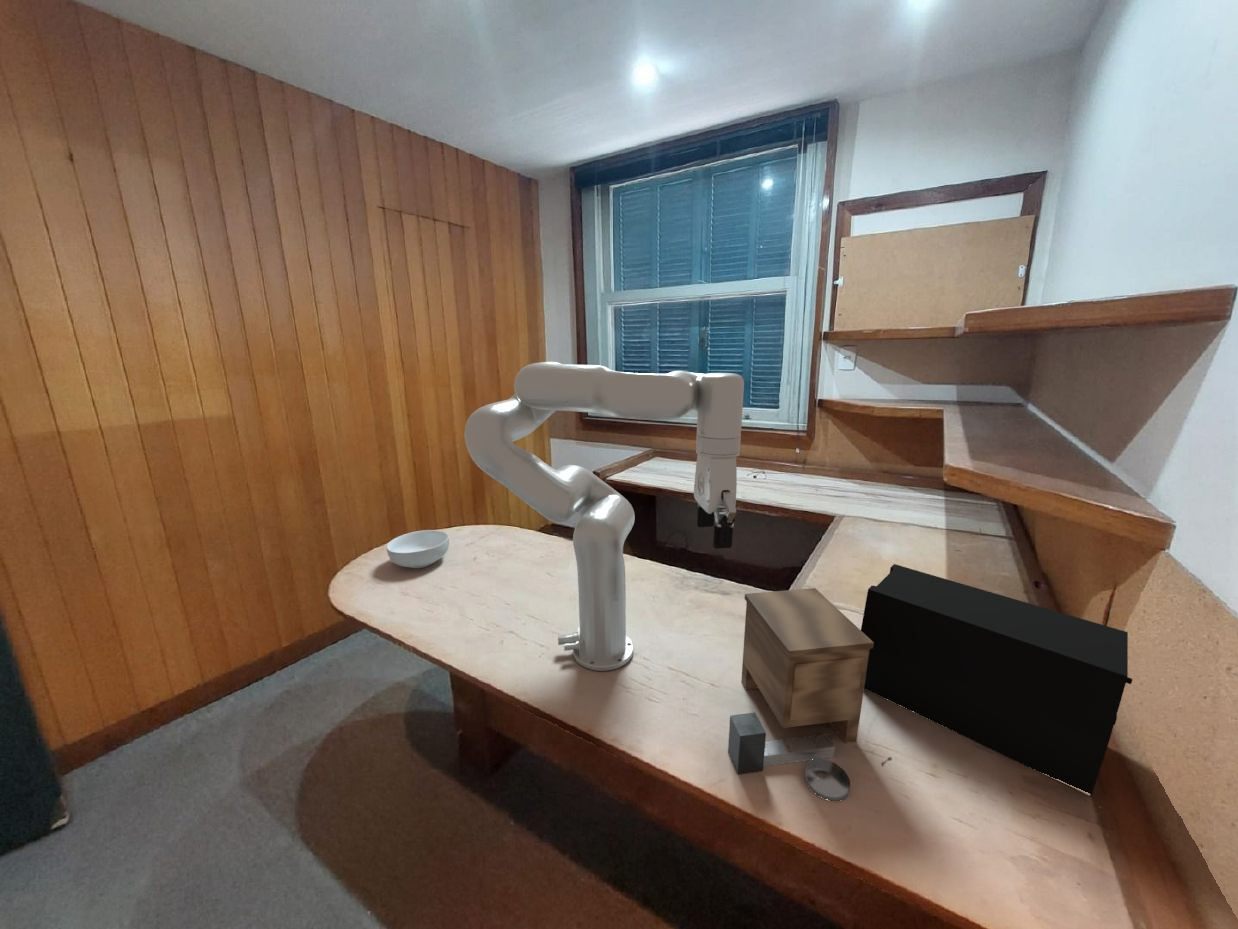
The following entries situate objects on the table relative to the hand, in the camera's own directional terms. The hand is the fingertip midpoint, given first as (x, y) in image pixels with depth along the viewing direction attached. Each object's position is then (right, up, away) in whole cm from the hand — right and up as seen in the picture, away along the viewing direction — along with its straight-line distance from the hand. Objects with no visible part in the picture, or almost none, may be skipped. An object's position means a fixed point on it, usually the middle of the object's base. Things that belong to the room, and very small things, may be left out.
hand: (713, 536), depth 87 cm
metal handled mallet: (+8, -32, -13) cm, 36 cm away
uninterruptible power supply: (+44, -30, -5) cm, 54 cm away
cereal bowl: (-76, -16, +54) cm, 95 cm away
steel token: (+13, -34, -17) cm, 40 cm away
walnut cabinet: (+13, -30, -4) cm, 33 cm away
